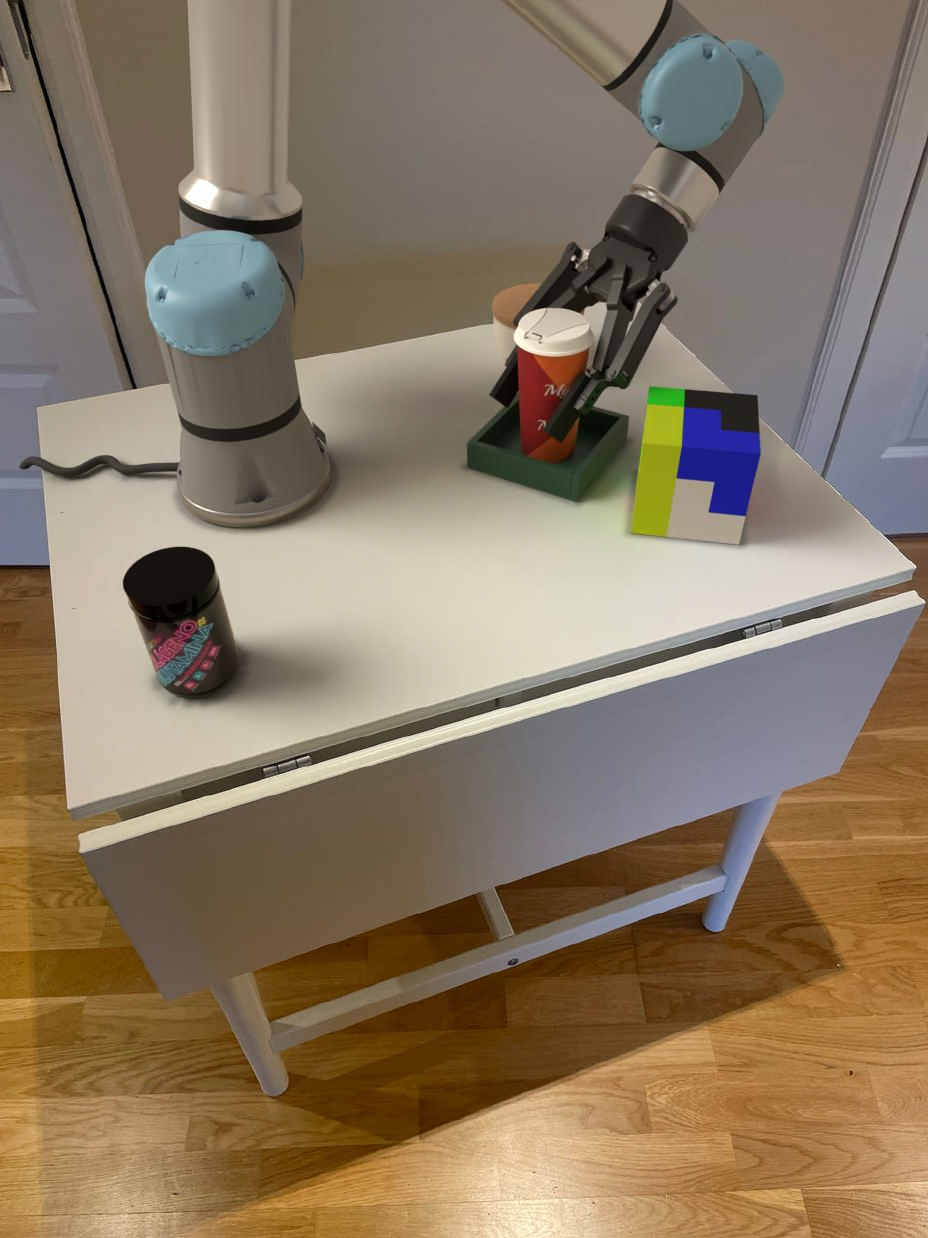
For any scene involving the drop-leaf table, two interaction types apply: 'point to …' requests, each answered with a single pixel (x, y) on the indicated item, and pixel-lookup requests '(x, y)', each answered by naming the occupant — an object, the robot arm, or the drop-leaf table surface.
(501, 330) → the trinket box
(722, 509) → the puzzle toy
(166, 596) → the supplement container
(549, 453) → the paper cup
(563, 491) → the green square tray
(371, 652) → the drop-leaf table surface
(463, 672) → the drop-leaf table surface
